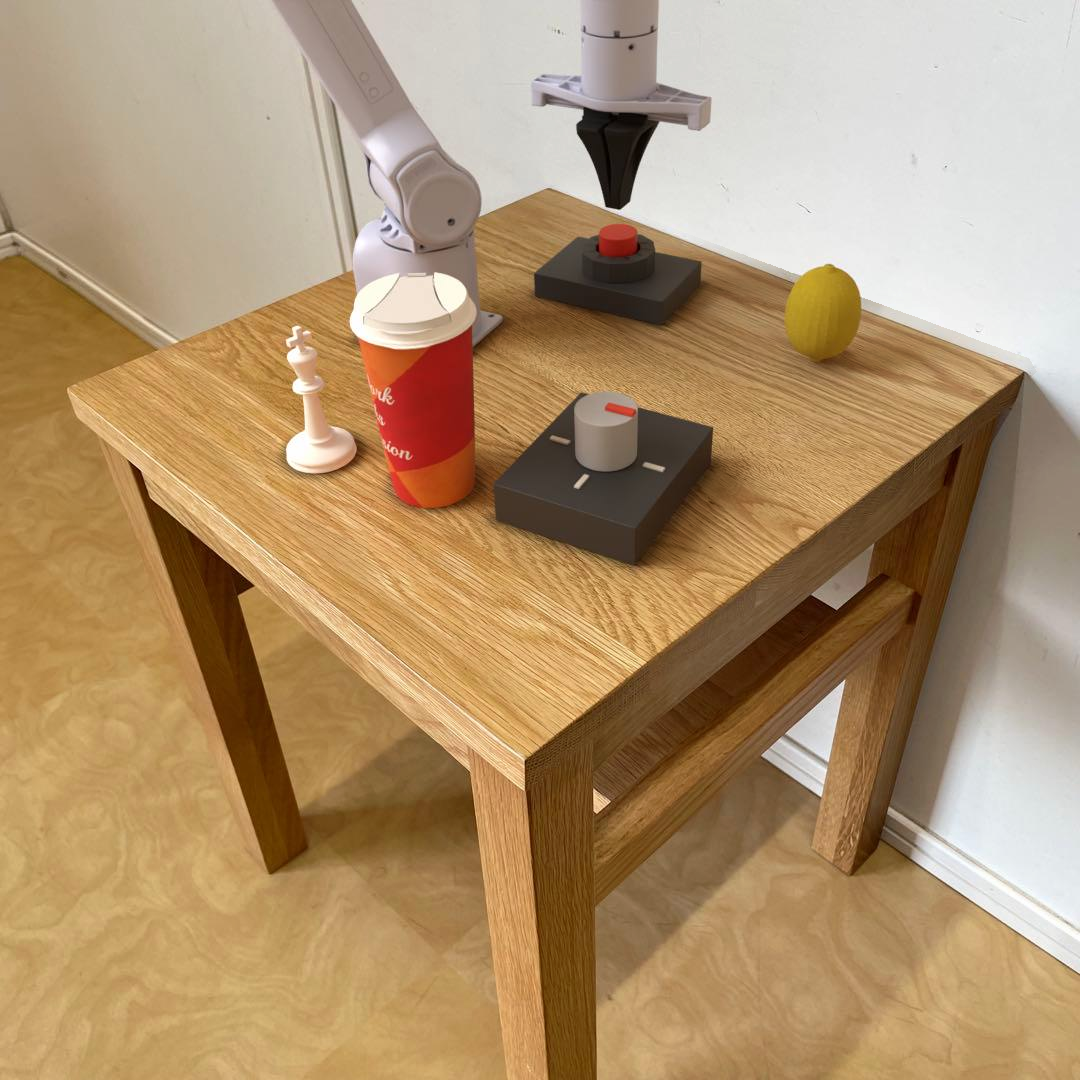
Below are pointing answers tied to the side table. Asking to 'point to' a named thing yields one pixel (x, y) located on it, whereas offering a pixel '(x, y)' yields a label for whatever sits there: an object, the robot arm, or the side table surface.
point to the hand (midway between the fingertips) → (617, 204)
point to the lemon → (823, 312)
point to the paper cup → (421, 382)
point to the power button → (618, 240)
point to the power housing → (619, 280)
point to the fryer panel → (604, 486)
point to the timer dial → (606, 431)
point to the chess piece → (314, 416)
